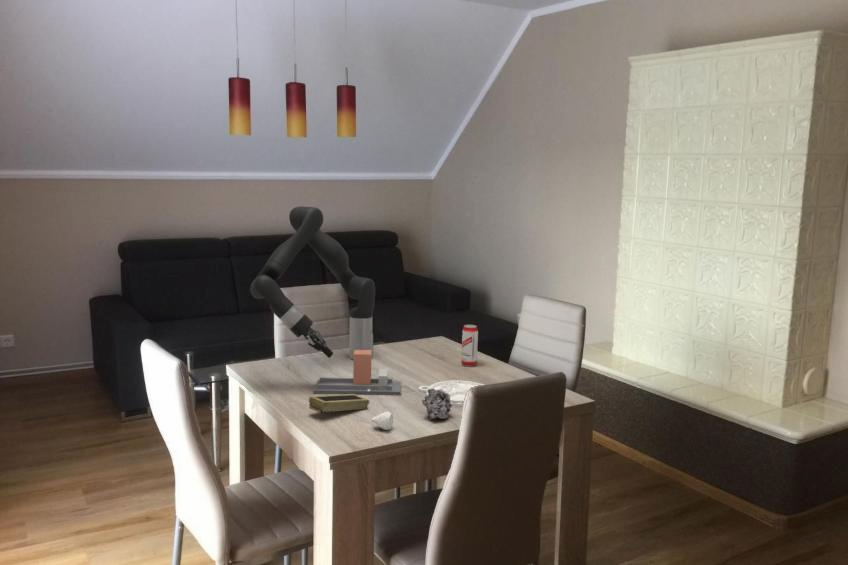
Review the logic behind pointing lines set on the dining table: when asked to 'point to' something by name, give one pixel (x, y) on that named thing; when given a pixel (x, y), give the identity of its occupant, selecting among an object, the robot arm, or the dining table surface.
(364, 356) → the salmon rectangular block
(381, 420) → the white seashell
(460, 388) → the medallion
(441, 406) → the mineral specimen
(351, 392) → the grey slide track
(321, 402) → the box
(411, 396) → the dining table surface
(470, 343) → the beer can
